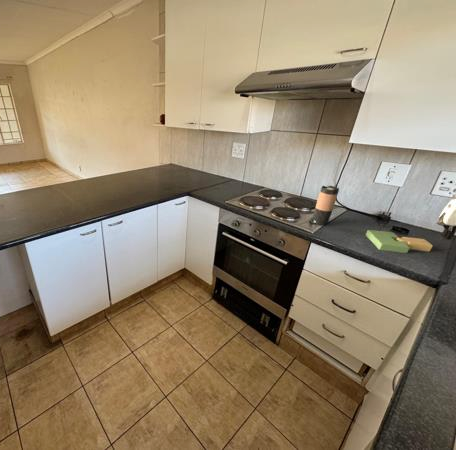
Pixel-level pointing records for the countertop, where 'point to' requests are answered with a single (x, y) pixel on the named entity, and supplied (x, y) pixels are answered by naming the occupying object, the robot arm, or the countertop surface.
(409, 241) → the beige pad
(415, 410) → the countertop surface
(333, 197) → the travel mug
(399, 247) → the green pad
